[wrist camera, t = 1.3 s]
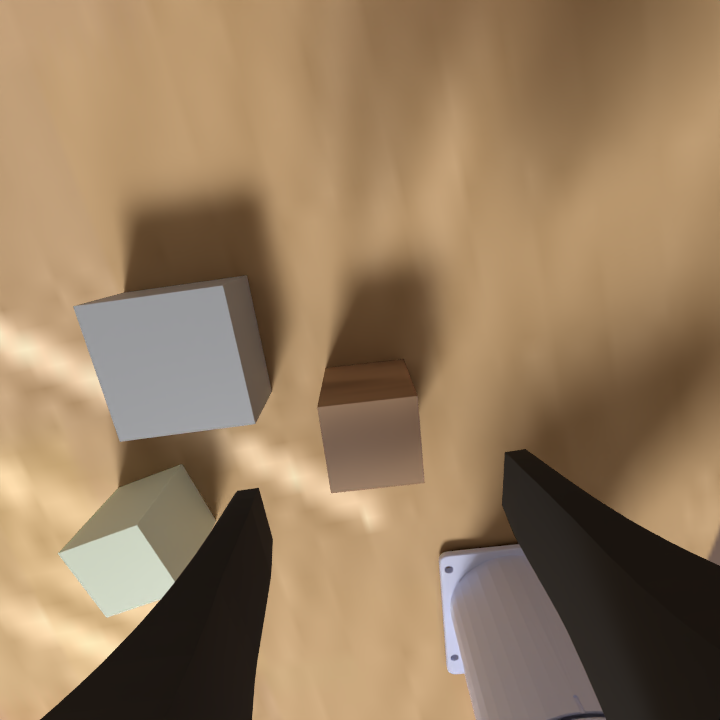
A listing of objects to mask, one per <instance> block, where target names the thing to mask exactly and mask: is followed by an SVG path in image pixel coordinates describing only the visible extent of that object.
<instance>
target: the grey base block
mask: <svg viewBox="0 0 720 720" xmlns="http://www.w3.org/2000/svg"><path fill="white" fill-rule="evenodd" d="M73 307H74V310H75V313H76V316H77V319H78V322H79V325H80V327H81V330H82V333H83V336H84V339H85V342H86V345H87V348H88V351H89V354H90V356H91V359H92V362H93V365H94V368H95V371H96V374H97V377H98V380H99V382H100V385H101V388H102V391H103V394H104V397H105V400H106V403H107V406H108V409H109V411H110V414H111V417H112V420H113V423H114V426H115V429H116V432H117V435H118V437H119V440H120V442H121V441H129V440H137V439H144V438H152V437H159V436H167V435H175V434H182V433H190V432H198V431H205V430H213V429H221V428H228V427H236V426H244V425H251V424H255V423H256V421H257V419H258V418H259V416H260V414H261V412H262V410H263V408H264V406H265V404H266V402H267V400H268V398H269V396H270V394H271V392H272V390H271V385H270V381H269V376H268V371H267V367H266V362H265V357H264V353H263V348H262V343H261V339H260V334H259V329H258V325H257V320H256V315H255V311H254V306H253V301H252V297H251V292H250V287H249V283H248V278H247V275H245V276H238V277H231V278H224V279H217V280H210V281H203V282H196V283H189V284H181V285H174V286H167V287H160V288H153V289H146V290H139V291H132V292H125V293H121V294H117V295H113V296H110V297H106V298H102V299H99V300H95V301H91V302H88V303H84V304H80V305H77V306H73Z"/></svg>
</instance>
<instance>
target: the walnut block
mask: <svg viewBox="0 0 720 720" xmlns="http://www.w3.org/2000/svg"><path fill="white" fill-rule="evenodd" d="M317 408H318V414H319V421H320V427H321V433H322V439H323V446H324V452H325V458H326V464H327V471H328V477H329V483H330V489H331V493H337V492H346V491H356V490H365V489H374V488H383V487H392V486H402V485H411V484H420V483H425V481H424V469H423V457H422V444H421V432H420V420H419V407H418V396H417V393H416V391H415V388H414V385H413V383H412V380H411V378H410V375H409V372H408V370H407V367H406V364H405V362H404V359H400V360H391V361H382V362H374V363H365V364H356V365H347V366H339V367H330V368H325V373H324V378H323V383H322V388H321V392H320V397H319V402H318V407H317Z"/></svg>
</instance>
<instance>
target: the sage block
mask: <svg viewBox="0 0 720 720" xmlns="http://www.w3.org/2000/svg"><path fill="white" fill-rule="evenodd" d="M215 522H216V520H215V518H214V517H213V515H212V513H211V512H210V510H209V508H208V507H207V505H206V503H205V502H204V500H203V498H202V497H201V495H200V493H199V491H198V490H197V488H196V486H195V485H194V483H193V481H192V480H191V478H190V476H189V475H188V473H187V471H186V470H185V468H184V466H183V465H182V464H181V465H178V466H175V467H172V468H170V469H167V470H164V471H162V472H159V473H156V474H154V475H151V476H148V477H146V478H143V479H140V480H138V481H135V482H132V483H130V484H127V485H124V486H122V487H119V488H118V489H117V490H116V491H115V492H114V493H113V494H112V495H111V496H110V497H109V498H108V500H107V501H106V502H105V503H104V504H103V505H102V506H101V507H100V508H99V509H98V510H97V512H96V513H95V514H94V515H93V516H92V517H91V518H90V519H89V520H88V521H87V522H86V524H85V525H84V526H83V527H82V528H81V529H80V530H79V531H78V532H77V533H76V534H75V536H74V537H73V538H72V539H71V540H70V541H69V542H68V543H67V544H66V545H65V546H64V548H63V549H62V550H61V551H60V552H59V553H58V554H59V556H60V557H61V558H62V560H63V561H64V562H65V564H66V565H67V566H68V568H69V569H70V570H71V571H72V573H73V574H74V575H75V577H76V578H77V579H78V581H79V582H80V583H81V585H82V586H83V587H84V589H85V590H86V591H87V593H88V594H89V595H90V597H91V598H92V599H93V600H94V602H95V603H96V604H97V606H98V607H99V608H100V610H101V611H102V612H103V614H104V615H105V616H106V618H107V617H110V616H113V615H116V614H119V613H122V612H125V611H128V610H131V609H134V608H137V607H140V606H143V605H145V604H148V603H151V602H154V601H157V600H160V599H162V597H163V596H164V595H165V594H166V592H167V591H168V590H169V589H170V587H171V586H172V585H173V584H174V582H175V581H176V580H177V578H178V577H179V576H180V574H181V573H182V572H183V570H184V569H185V568H186V566H187V565H188V564H189V562H190V561H191V560H192V558H193V557H194V555H195V554H196V553H197V551H198V550H199V548H200V547H201V545H202V544H203V542H204V541H205V539H206V538H207V537H208V535H209V534H210V532H211V530H212V528H213V526H214V524H215Z"/></svg>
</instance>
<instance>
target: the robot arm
mask: <svg viewBox="0 0 720 720" xmlns="http://www.w3.org/2000/svg"><path fill="white" fill-rule="evenodd" d="M502 506H503V509H504V511H505V514H506V516H507V519H508V521H509V524H510V526H511V528H512V531H513V533H514V535H515V538H516V539H517V541H518V543H519V544H515V545H505V546H495V547H486V548H476V549H467V550H457V551H447V552H443V553H442V554H441V555H440V556H439V570H440V583H441V597H442V610H443V624H444V637H445V651H446V664H447V669H448V671H449V672H450V673H452V674H463V673H465V678H466V682H467V686H468V690H469V694H470V698H471V702H472V706H473V710H474V714H475V718H476V720H720V566H719V565H717V564H715V563H712V562H710V561H708V560H706V559H704V558H702V557H700V556H697V555H695V554H693V553H691V552H689V551H687V550H685V549H683V548H681V547H679V546H677V545H675V544H673V543H671V542H669V541H667V540H665V539H663V538H662V537H660V536H658V535H656V534H654V533H652V532H650V531H649V530H647V529H645V528H643V527H641V526H640V525H638V524H636V523H634V522H633V521H631V520H629V519H627V518H626V517H624V516H623V515H621V514H619V513H618V512H616V511H614V510H613V509H611V508H610V507H608V506H606V505H605V504H603V503H602V502H600V501H599V500H597V499H595V498H594V497H592V496H591V495H589V494H588V493H586V492H585V491H584V490H582V489H581V488H579V487H578V486H576V485H575V484H573V483H572V482H570V481H569V480H568V479H566V478H565V477H563V476H562V475H561V474H559V473H558V472H556V471H555V470H554V469H552V468H551V467H549V466H548V465H547V464H545V463H544V462H543V461H541V460H540V459H538V458H537V457H536V456H534V455H533V454H531V453H530V452H529V451H527V450H526V449H524V450H517V451H510V452H505V461H504V479H503V497H502ZM272 544H273V539H272V535H271V531H270V528H269V524H268V520H267V517H266V513H265V509H264V505H263V502H262V498H261V494H260V491H259V488H255V489H248V490H241V491H237V492H236V493H235V495H234V496H233V498H232V499H231V501H230V502H229V504H228V506H227V507H226V509H225V510H224V512H223V514H222V515H221V517H220V518H219V520H218V521H217V523H216V525H215V526H214V528H213V529H212V531H211V532H210V534H209V535H208V537H207V538H206V539H205V541H204V542H203V544H202V545H201V547H200V548H199V550H198V551H197V553H196V554H195V555H194V557H193V558H192V560H191V561H190V562H189V564H188V565H187V566H186V568H185V569H184V570H183V572H182V573H181V574H180V576H179V577H178V578H177V580H176V581H175V582H174V584H173V585H172V586H171V587H170V589H169V590H168V591H167V592H166V594H165V595H164V596H163V597H162V599H161V600H160V601H159V602H158V603H157V604H156V606H155V607H154V608H153V609H152V610H151V611H150V613H149V614H148V615H147V616H146V617H145V618H144V620H143V621H142V622H141V623H140V624H139V625H138V626H137V627H136V628H135V629H134V630H133V632H132V633H131V634H130V635H129V636H128V637H127V638H126V639H125V640H124V641H123V642H122V643H121V644H120V645H119V646H118V647H117V648H116V649H115V650H114V651H113V652H112V653H111V654H110V655H109V656H108V657H107V659H106V660H105V661H104V662H103V663H102V664H101V665H100V666H99V667H97V668H96V669H95V670H94V671H93V672H92V673H91V674H90V675H89V676H88V677H87V678H86V679H85V680H84V681H83V682H82V683H81V684H80V685H78V686H77V687H76V688H75V689H74V690H73V691H72V692H71V693H70V694H69V695H67V696H66V697H65V698H64V699H63V700H62V701H61V702H60V703H59V704H58V705H56V706H55V707H54V708H53V709H52V710H51V711H50V712H48V713H47V714H46V715H45V716H44V717H43V718H42V719H40V720H252V711H253V697H254V684H255V675H256V667H257V659H258V653H259V647H260V641H261V635H262V629H263V623H264V617H265V610H266V604H267V598H268V592H269V585H270V579H271V567H272ZM447 566H451V567H450V568H446V567H447Z"/></svg>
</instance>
